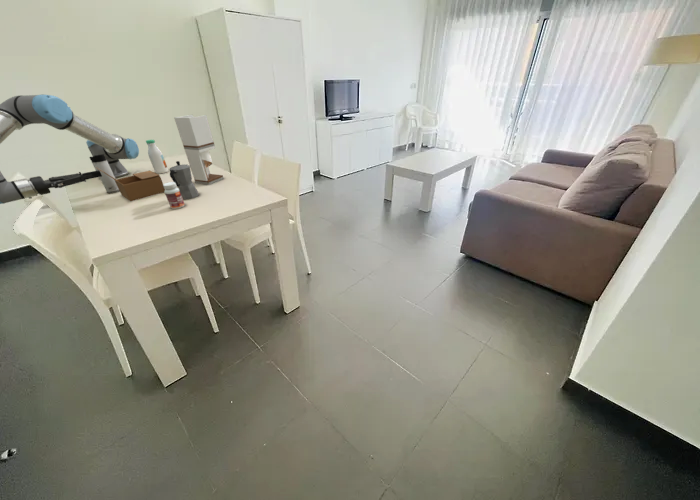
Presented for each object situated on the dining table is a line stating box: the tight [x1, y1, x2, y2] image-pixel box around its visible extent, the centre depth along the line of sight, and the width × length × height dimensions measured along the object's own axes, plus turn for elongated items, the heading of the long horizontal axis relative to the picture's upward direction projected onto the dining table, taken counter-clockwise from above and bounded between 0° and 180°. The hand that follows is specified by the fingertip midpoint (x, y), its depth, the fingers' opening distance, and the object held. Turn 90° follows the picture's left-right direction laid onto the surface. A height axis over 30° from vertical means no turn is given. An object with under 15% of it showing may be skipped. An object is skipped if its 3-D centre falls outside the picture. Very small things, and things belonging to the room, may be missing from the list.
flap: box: [96, 167, 122, 184], centre depth 138 cm, size 8×14×1 cm
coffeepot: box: [168, 160, 200, 200], centre depth 141 cm, size 15×9×18 cm, turn 179°
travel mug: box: [88, 154, 120, 194], centre depth 150 cm, size 6×7×20 cm
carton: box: [115, 170, 166, 202], centre depth 149 cm, size 17×14×9 cm
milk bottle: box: [145, 139, 169, 175], centre depth 180 cm, size 8×8×20 cm
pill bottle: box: [163, 181, 186, 210], centre depth 132 cm, size 6×6×11 cm
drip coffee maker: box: [173, 114, 224, 186], centre depth 158 cm, size 11×11×35 cm
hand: (100, 173), depth 135 cm, fingers closed
